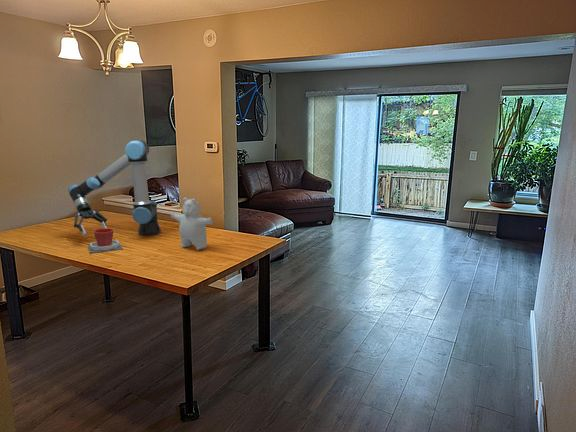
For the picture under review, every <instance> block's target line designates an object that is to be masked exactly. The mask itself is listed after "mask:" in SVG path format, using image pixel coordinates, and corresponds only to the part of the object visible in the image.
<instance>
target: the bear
mask: <svg viewBox="0 0 576 432" xmlns="http://www.w3.org/2000/svg"><path fill="white" fill-rule="evenodd" d="M182 200H183V205H182V213H180V214H179V213H176V212H170V216H171V219H175V221H177V222H178V223H179V229H178V232H179V235H180V242H181V243H180V247H182V248H189V247H191V246H192V245H193V246H194V247H195V249H196V251H199V250H201V251H202V250H204V249H206V248H207V246H208V240H207V239H208V238H207V229H206V226H208V225H213V222H214V221H213V220H212V218H211V217H207V218H206V217H203V215H201V214H199V213H200V210H201V208H200V207H201V206H200V204H199V202H198V201H197V200H196V199H195V198H191V199H190V198H187V197H184V198H183V199H182Z"/></svg>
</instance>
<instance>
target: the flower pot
mask: <svg viewBox="0 0 576 432" xmlns="http://www.w3.org/2000/svg"><path fill="white" fill-rule="evenodd" d="M93 234H94V238H95V242H97V245H98V247H103V246H111V245H112V240H113V237H114V236H113V235H114V229H113V228H106V229H103V228H97V229H95V230H94V231H93Z"/></svg>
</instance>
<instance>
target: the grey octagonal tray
mask: <svg viewBox="0 0 576 432" xmlns="http://www.w3.org/2000/svg"><path fill="white" fill-rule="evenodd" d="M87 248H88V252H89V254H97V253H98V254H99V253H106V252H114V251H122V250H124V248H123V246H122V245H121V244H120V242H119V240H117V239H112V245H111V246H103V247H98V245H97V242H96V241H94V242H91V243H89V244H87Z"/></svg>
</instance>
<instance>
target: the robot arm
mask: <svg viewBox="0 0 576 432" xmlns="http://www.w3.org/2000/svg"><path fill="white" fill-rule="evenodd" d="M124 152H125V153H124V154H123V155H122V156H120V157H119V158H118V159H116V160H115V161H114V162H113V163H111V164H110V165H108V166H107V167H106V168H104V169H103V170H102V171H100V172H99V173H98V174H96V175H95V176H91V177H88V178H87V179H86V180H84V181H83V182H82V183H81V184H73V185H70V186H69V187H68V189H67V192H68V194H69V196H70V198H71V200H72V202H73V204H74V206H75V208H76V210H77V212H75V213H74V215H73V216H74V223H73V224H74V225H73V227H74V228H77V229H78V230H79V231H80V232H81V233H82V235H83V237H85V236H86V235H87V233H86V230H85V227H84V226H83V225H82V222H83V221H84V219H85V220H88V219H93V220H95V221H97V222H99V223H101V224H100V225H101V227H102V229H106V228H107V226H108V225H107V221H108V218H106V216H104V215H103V214H101V213H100V212H99V211H98V210H97V209H95V210H92V208H91V205H90V204H89V201H88V199H86V196H87V195H89V194H90V193H92V192H93V191H96V190H98V189H101V188H102V187H103V186H104V185H105V184H107V183H108V182H110V181H111V180H112V179H114V178H115V177H116V176H117V175H119V174H120V173H122V172H123V171H124V170H125V169H126V168H128V167H129V166H131V174H132V184H133V192H134V202H133V203H132V204H133V211H132V219H133V220H134V221H135V222H136V223H137V224H139V225H138V230H137V233H138V235H141V236H153V235H154V236H155V235H159V234H160V233H161V230H162V229H161V227H160V225H159V222H158V205H157V201H156V200H150V198H149V197H150V196H149V189H148V179H147V166H146V164H147V162H148V155H149V153H150V147H149V144H148V143H147V142H146V141H144V140H143V139H142V140H140V139H139V140H131V141H129V142H128V143H127V144H126V146H125V149H124ZM79 217H81V218H80V220H79ZM78 221H79V222H78ZM107 229H108V228H107Z"/></svg>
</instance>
